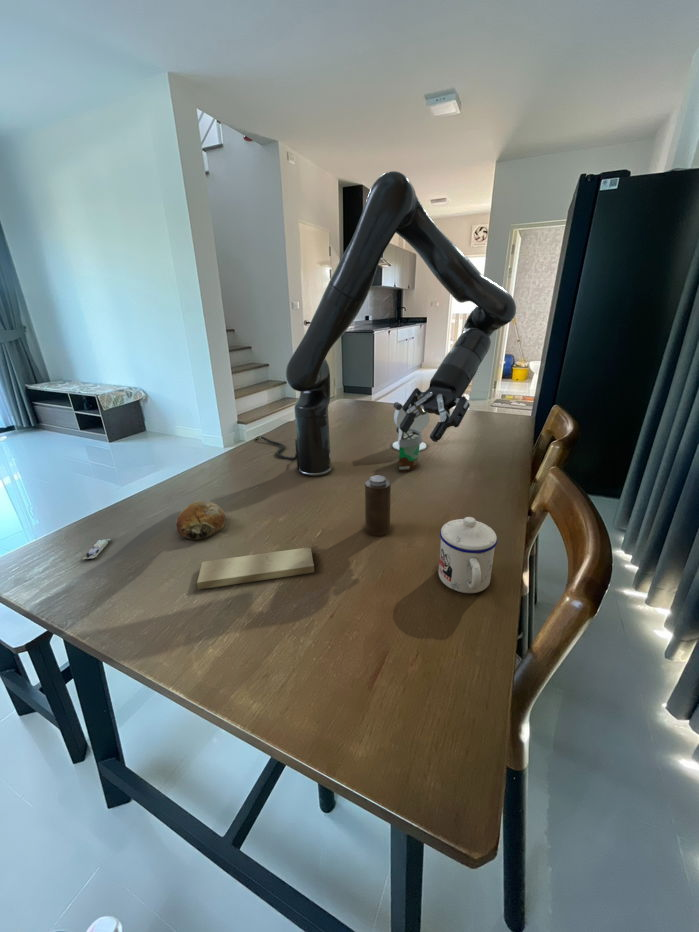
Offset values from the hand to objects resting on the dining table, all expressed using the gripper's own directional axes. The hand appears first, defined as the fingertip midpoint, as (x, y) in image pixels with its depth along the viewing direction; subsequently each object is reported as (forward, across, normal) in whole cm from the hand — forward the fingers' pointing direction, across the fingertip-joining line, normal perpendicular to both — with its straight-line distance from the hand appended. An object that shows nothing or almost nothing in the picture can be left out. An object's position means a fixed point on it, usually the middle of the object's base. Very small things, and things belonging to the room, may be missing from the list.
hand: (417, 435), depth 81 cm
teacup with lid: (+21, +22, +5) cm, 31 cm away
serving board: (+39, -4, -13) cm, 42 cm away
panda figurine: (-10, -32, +37) cm, 50 cm away
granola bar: (+55, -31, -29) cm, 70 cm away
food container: (-1, -20, +27) cm, 34 cm away
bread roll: (+42, -26, -15) cm, 51 cm away
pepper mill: (+21, 0, +5) cm, 22 cm away
